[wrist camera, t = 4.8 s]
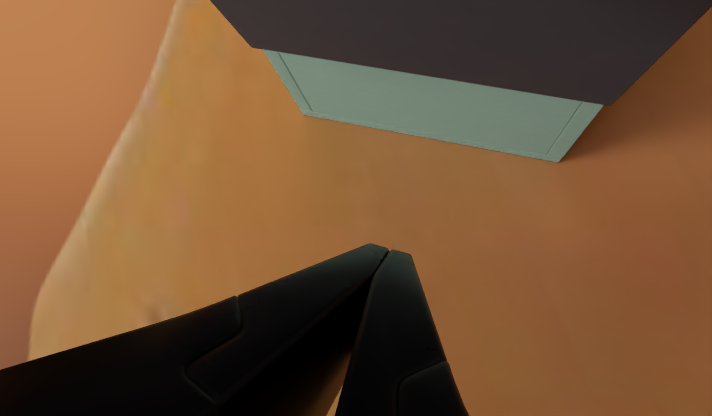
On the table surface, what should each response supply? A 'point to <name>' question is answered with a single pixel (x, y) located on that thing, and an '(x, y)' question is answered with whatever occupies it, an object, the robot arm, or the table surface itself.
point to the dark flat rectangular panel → (479, 38)
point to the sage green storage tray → (435, 106)
